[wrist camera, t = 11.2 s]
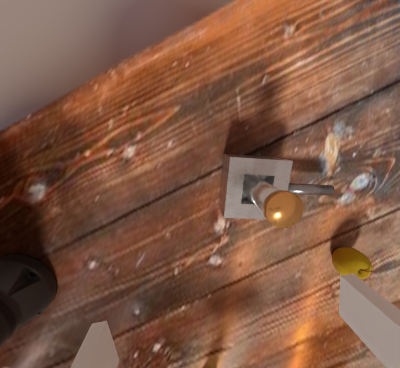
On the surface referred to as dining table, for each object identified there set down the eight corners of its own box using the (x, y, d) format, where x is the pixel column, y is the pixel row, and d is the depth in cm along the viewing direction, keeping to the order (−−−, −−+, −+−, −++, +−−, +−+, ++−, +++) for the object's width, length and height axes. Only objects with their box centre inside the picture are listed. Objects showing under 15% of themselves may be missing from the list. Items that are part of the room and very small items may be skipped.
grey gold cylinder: (234, 179, 38) (260, 203, 24) (257, 168, 38) (296, 186, 24) (244, 200, 39) (274, 234, 25) (265, 189, 39) (308, 218, 25)
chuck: (218, 205, 42) (223, 217, 35) (223, 153, 39) (230, 156, 33) (312, 209, 43) (333, 221, 37) (322, 159, 40) (347, 164, 34)
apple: (354, 243, 46) (388, 264, 38) (343, 266, 47) (374, 291, 39) (330, 237, 45) (359, 258, 37) (320, 261, 46) (346, 286, 39)
